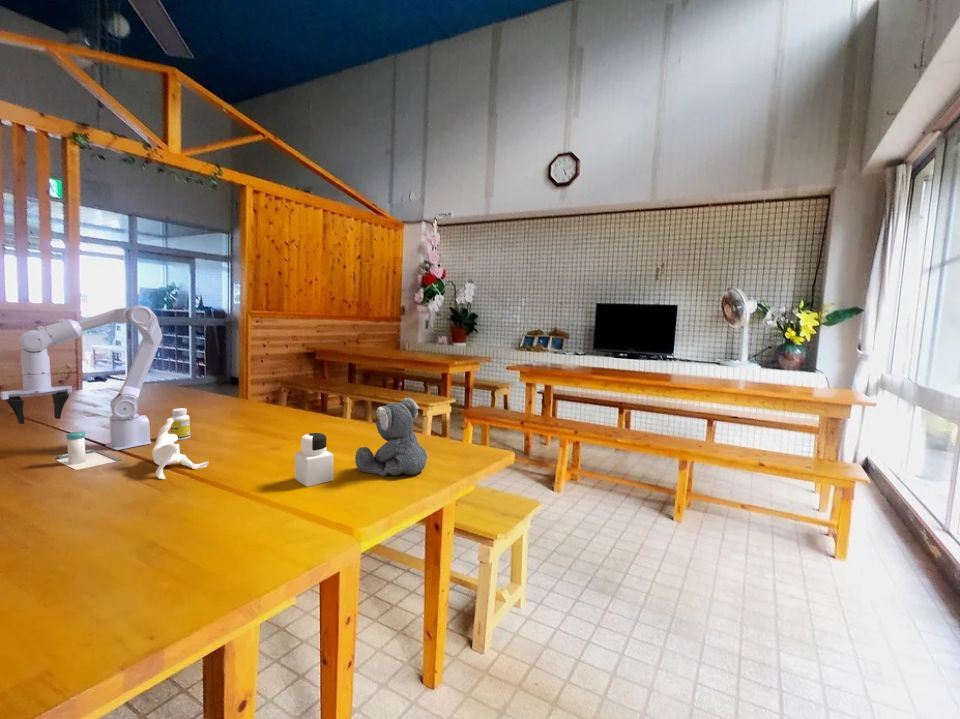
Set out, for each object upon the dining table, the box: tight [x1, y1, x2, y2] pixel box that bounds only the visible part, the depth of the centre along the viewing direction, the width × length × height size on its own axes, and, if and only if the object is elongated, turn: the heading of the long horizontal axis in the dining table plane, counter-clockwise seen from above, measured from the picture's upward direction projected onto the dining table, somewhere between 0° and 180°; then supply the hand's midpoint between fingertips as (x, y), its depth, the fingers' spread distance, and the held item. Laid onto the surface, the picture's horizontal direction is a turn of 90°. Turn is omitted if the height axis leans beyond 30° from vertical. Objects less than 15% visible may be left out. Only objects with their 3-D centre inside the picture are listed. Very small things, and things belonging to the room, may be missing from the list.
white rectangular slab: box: [56, 450, 122, 471], centre depth 129 cm, size 10×14×1 cm
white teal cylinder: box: [65, 431, 86, 464], centre depth 127 cm, size 4×4×8 cm
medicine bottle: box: [294, 432, 334, 488], centre depth 118 cm, size 7×7×12 cm
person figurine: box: [151, 417, 210, 480], centre depth 125 cm, size 13×13×18 cm
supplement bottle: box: [170, 407, 191, 441], centre depth 153 cm, size 5×5×10 cm
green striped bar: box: [56, 448, 96, 459], centre depth 134 cm, size 8×2×1 cm, turn 148°
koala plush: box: [355, 397, 428, 477], centre depth 128 cm, size 17×18×20 cm
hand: (39, 420), depth 131 cm, fingers open, 7 cm apart
